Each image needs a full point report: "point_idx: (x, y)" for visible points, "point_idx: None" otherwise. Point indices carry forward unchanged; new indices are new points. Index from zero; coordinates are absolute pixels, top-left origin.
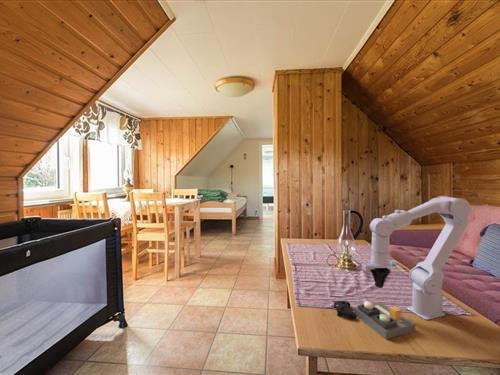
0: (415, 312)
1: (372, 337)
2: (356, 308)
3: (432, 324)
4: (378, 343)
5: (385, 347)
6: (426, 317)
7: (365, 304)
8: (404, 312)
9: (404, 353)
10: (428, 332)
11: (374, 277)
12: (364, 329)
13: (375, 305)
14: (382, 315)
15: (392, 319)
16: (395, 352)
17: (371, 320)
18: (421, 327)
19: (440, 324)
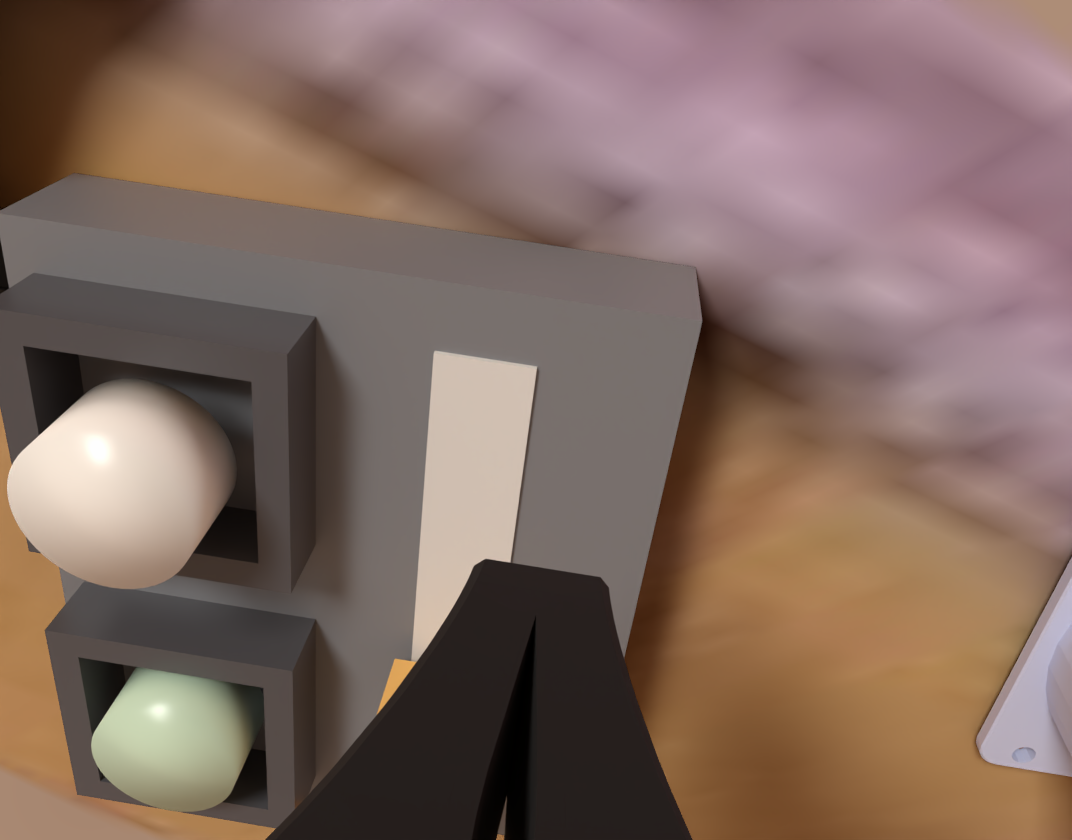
0: (1056, 635)
1: (10, 611)
2: (23, 243)
3: (942, 797)
4: (14, 685)
5: (47, 738)
6: (1034, 747)
7: (15, 499)
8: (952, 519)
9: (167, 837)
10: (712, 827)
11: (354, 810)
12: (3, 489)
13: (488, 345)
14: (156, 733)
15: (273, 788)
16: (94, 801)
17: (63, 575)
18: (746, 765)
19: (1030, 834)
